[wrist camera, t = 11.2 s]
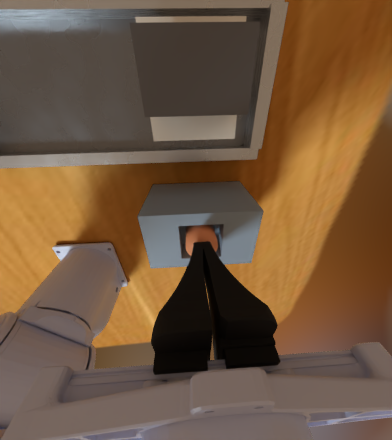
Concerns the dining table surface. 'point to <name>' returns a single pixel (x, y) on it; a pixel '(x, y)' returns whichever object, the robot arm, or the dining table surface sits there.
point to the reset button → (200, 236)
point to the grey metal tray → (109, 83)
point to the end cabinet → (199, 221)
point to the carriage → (195, 73)
